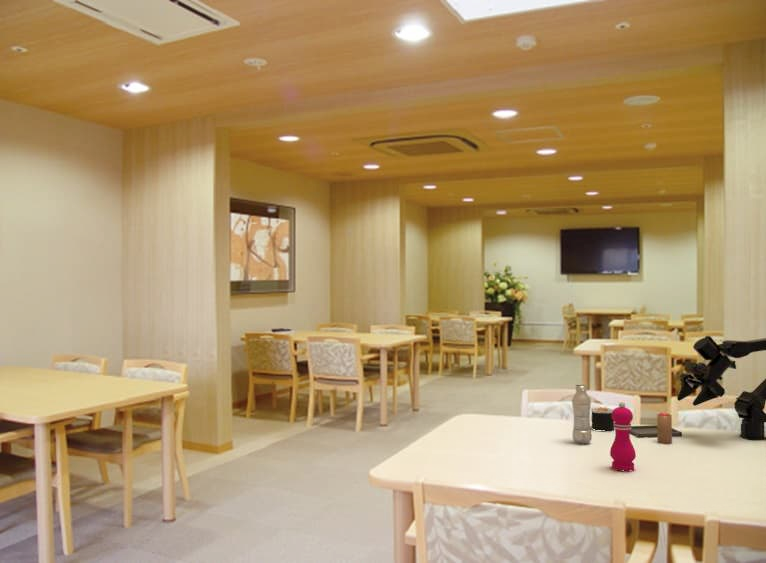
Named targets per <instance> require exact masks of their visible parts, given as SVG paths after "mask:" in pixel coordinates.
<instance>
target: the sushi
mask: <svg viewBox="0 0 766 563" xmlns="http://www.w3.org/2000/svg"><path fill="white" fill-rule="evenodd" d="M613 410H614V409H612V408H609V407H602V406H599V407H593V408H590V411H591V429H592V428H593V429H595V430H605V431H604V432H606V431H609V432H613V431H614V430H615V428H614V423H615V422H614V420H613V419H612V411H613ZM593 429H592V430H593ZM612 430H613V431H612Z"/></svg>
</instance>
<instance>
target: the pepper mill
mask: <svg viewBox="0 0 766 563" xmlns="http://www.w3.org/2000/svg"><path fill="white" fill-rule="evenodd" d="M612 410H613V411H612V419H613V420H614V430H615V433H614V434H615V437H614V440H613V442H612V445H611V447H610V451H609V456H610V458H611V459H612V461H611V469H613V468H614V469H617V470H624V471H628V472H631V471H630V470H633V471H634V470H635V463H634V462H633V461H634V460H636V456H637V455H636V454H637V453H636V450H635V447H634V445H633V444H632V441H631V437H630V435H631V434H630V429H631V426H632V424H631V422H632V421H633V419H634V415H633V412H632V411H631V409H630V408H628V407H626V404H625V401H620V402H619V403H618V407H616V408H614V409H612ZM614 469H613V470H614ZM617 470H616V471H617ZM624 471H623V472H624Z"/></svg>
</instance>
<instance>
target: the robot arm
mask: <svg viewBox="0 0 766 563" xmlns="http://www.w3.org/2000/svg"><path fill="white" fill-rule="evenodd" d="M692 349H693V350H695V351H696V353H698V354H699V356H700V357H701V358H702V359H704V360H705V361H709V362H708V363H707V364H706V363H704V362H698V363H697V362H693V361H686V364H685V366H684V368H683V370H684V371H687V372H689V373H686V372H684V373H683V372H682V373H681V374H680V375H679V376H678V378H679V381H680V383H681V387H680V391H679V393H678V395H677V398H676V399H677V401H683V399H686V398H687V397H688V396H691V394H693V393H695V392H696V390H697V389H698V388H699V387H700V388H701V390H700V391H699V393H698V394H697V395H696V397H695V399H694V400H693V401H692V405H693V406H698V405H700V404H703V403H705V402H708V401H711V400H714V399H718V398H722V397H723V396H724V395H725V393H726V389H725V388H724V387H723V386H722V384H720V383H719V381H721V380H723V377H722V376H723V374H724V373H725V372H726V371H727V370H728V368H729V369H733V370H736V369H737V365H736V361H735V360H732V359H730V358H733V359H742V358H744V357H747V356H749V355H750V354H751V353H756V352H762V351H766V337H765V338H757V339H752V340H751V339H750V340H733V339H731V340H730V339H728V340H724V341H722V343H719V344H718V343H717V342H715V341H714V339H713V337H712V336H710V335H706V336H704V337H702V338H701V339H699V340H697V341H695V343H694V344H693V348H692ZM718 380H719V381H718ZM765 407H766V378H765V379H764V380H762V382H761V383H759V385H758V386H756V387H755V389H754V390H753V391H750V392H749V391H745V390H744V391H742V392H741V393H740V395H739V396H738V397H736V398H735V402H734V411H735V412H736V413H737V416H738V418H740V419H741V423H740V433H739V435H740V437H742V438H744V437H745V439H747V440H750V441H751V440H754V439H756V440H766V436H765V423H766V412H765V411H764V409H765ZM739 435H738V436H739Z"/></svg>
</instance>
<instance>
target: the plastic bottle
mask: <svg viewBox="0 0 766 563" xmlns="http://www.w3.org/2000/svg"><path fill="white" fill-rule="evenodd" d="M587 391H588V388H587V385H586V384H575V393H574V394H573V396H572V399H571V404H572V410H573V412H572V413H573V428H572V440H573V441H574V443H578V444H581V443H583V444H590V442H591V441H592V437H593V436H592V430H591V421H590V418H591V417H590V416H591V415H590V414H591V413H590V412H591V406H592V405H591V404H592V403H591V402H592V400H591V398H590V397H591V396H590V395H588V393H587Z"/></svg>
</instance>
